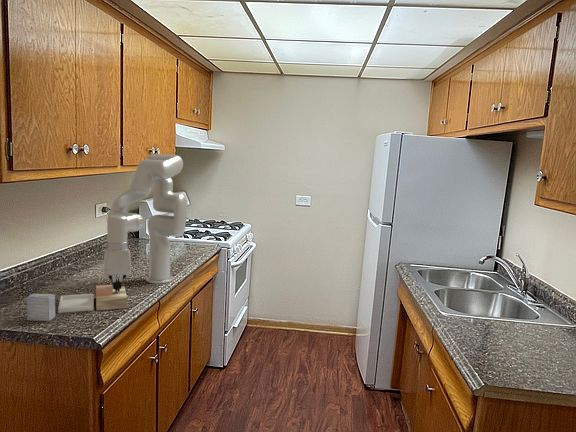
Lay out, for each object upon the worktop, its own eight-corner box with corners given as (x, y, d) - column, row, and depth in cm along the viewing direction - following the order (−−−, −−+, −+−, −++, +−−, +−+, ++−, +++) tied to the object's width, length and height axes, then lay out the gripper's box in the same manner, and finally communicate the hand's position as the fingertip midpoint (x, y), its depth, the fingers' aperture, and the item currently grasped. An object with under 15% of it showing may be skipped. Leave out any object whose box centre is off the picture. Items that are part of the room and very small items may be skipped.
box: (60, 300, 177) (60, 295, 177) (93, 297, 182) (93, 293, 182) (58, 313, 163) (58, 309, 163) (93, 310, 168) (93, 306, 168)
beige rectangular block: (96, 297, 183) (96, 288, 182) (124, 295, 187) (124, 286, 187) (96, 310, 168) (96, 300, 168) (127, 308, 173) (127, 298, 172)
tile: (96, 291, 178) (96, 285, 177) (112, 290, 180) (112, 284, 180) (96, 296, 172) (96, 290, 172) (112, 295, 175) (112, 289, 174)
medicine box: (55, 317, 160) (55, 294, 159) (49, 321, 155) (49, 297, 154) (33, 316, 159) (33, 293, 158) (26, 320, 155) (26, 297, 154)
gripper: (97, 248, 169) (97, 295, 171) (138, 247, 175) (137, 292, 178) (96, 244, 176) (96, 289, 178) (136, 243, 182) (135, 286, 184)
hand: (117, 290), depth 178 cm, fingers closed
